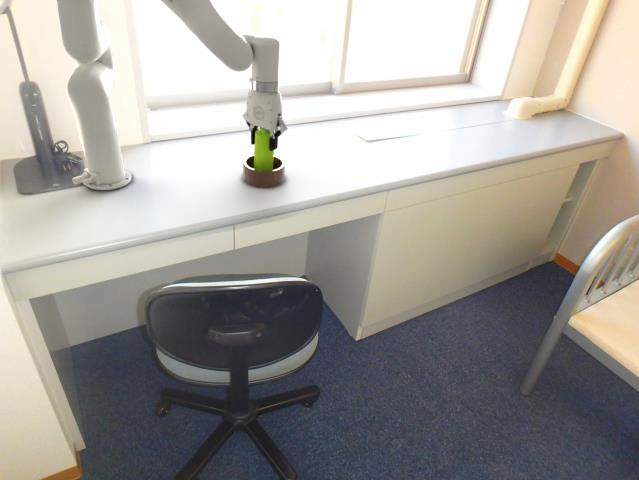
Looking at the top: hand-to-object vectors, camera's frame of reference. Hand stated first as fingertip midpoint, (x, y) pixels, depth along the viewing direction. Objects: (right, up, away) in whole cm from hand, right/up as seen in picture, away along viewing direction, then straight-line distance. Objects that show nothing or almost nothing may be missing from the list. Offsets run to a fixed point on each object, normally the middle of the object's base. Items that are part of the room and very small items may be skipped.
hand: (264, 145), depth 132 cm
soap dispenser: (-1, -7, +5) cm, 9 cm away
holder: (-1, -9, +6) cm, 11 cm away
